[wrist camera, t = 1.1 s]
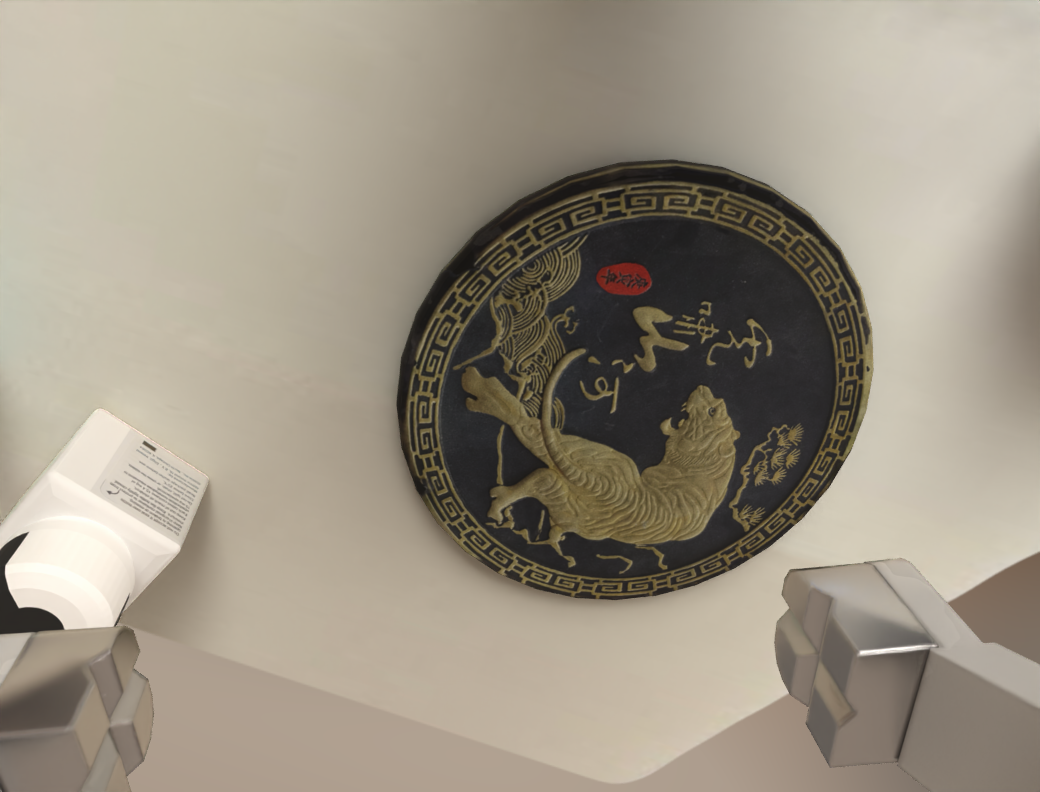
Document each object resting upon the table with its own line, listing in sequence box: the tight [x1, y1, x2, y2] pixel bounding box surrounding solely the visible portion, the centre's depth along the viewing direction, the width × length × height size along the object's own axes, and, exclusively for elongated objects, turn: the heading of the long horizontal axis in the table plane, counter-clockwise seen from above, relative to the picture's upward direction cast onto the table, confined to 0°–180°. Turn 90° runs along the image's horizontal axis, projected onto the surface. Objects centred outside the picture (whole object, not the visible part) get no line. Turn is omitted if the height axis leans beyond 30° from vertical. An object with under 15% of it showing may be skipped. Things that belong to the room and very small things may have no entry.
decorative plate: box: [397, 160, 873, 600], centre depth 51 cm, size 30×2×30 cm
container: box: [0, 408, 209, 635], centre depth 44 cm, size 8×8×13 cm
